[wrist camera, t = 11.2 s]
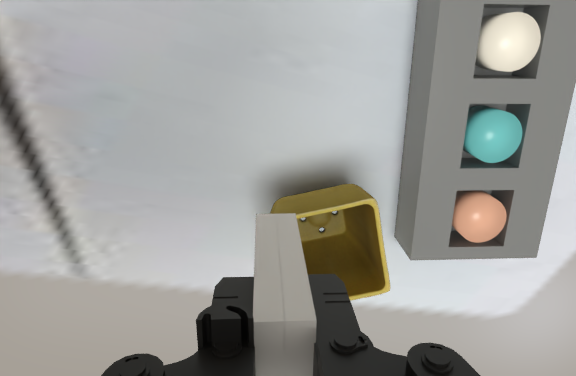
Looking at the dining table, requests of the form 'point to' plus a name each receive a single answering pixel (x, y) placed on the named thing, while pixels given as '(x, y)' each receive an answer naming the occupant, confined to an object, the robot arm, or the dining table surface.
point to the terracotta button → (478, 215)
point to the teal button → (491, 134)
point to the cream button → (507, 41)
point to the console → (453, 118)
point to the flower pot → (341, 237)
